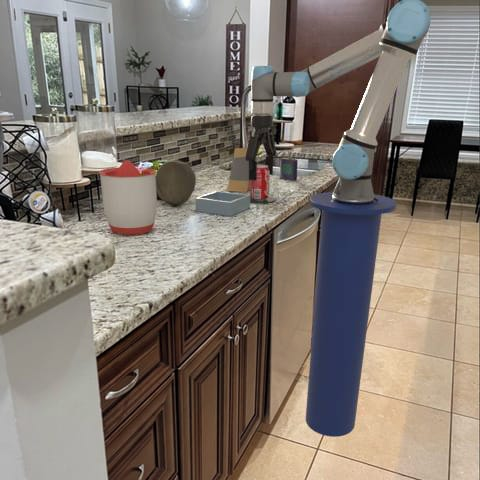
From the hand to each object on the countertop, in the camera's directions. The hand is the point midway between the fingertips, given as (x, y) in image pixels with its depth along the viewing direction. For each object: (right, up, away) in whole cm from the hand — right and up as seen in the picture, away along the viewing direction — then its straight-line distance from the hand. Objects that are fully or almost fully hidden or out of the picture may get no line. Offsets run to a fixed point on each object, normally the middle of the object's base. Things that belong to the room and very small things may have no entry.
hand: (261, 177), depth 182 cm
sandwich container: (-8, +1, +24) cm, 25 cm away
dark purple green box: (+14, +10, +45) cm, 48 cm away
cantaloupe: (-30, -11, -5) cm, 33 cm away
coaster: (0, -8, +3) cm, 8 cm away
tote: (-13, -14, -11) cm, 22 cm away
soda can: (-1, -7, +3) cm, 8 cm away
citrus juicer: (-39, -24, -35) cm, 58 cm away
